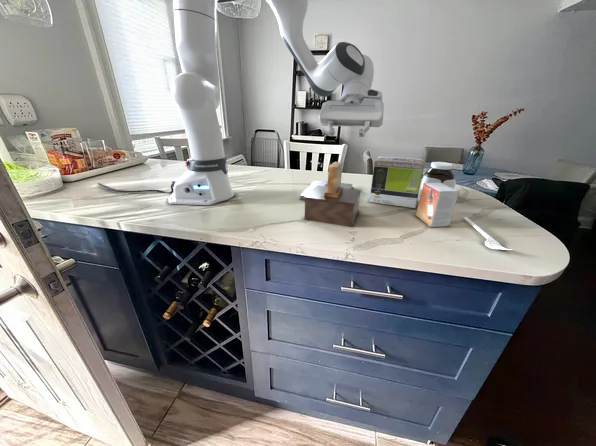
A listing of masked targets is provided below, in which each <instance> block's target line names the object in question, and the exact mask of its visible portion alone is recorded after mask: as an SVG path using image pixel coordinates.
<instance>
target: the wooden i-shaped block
mask: <svg viewBox="0 0 596 446" xmlns="http://www.w3.org/2000/svg"><path fill="white" fill-rule="evenodd" d="M343 163H344V162H343V161H334V162H332V163H331V164H330V165H329V166H328V170H327V182H328V187H327V190H326V191H325V192H324V196H326V197H334V198H338V197H339V196H340V194H341V193H342V191H343V187H341V183H342V174H343Z"/></svg>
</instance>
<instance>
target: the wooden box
mask: <svg viewBox="0 0 596 446" xmlns="http://www.w3.org/2000/svg"><path fill="white" fill-rule="evenodd" d="M327 187H328V186H319V185H317V186H316V187H315V188H313V189H312V190H311V191H310V192H309V193H308V194H307V195H306V196H305V197H304V199H305V200H304V220H308V221H313V222H321V223H326V224H333V225H339V226H345V227H353V224H354V222H355V220H356V219H357V218H356V217H357V216H358V213H359V209H360V201H361V193H362V190H361V189H353V188H352V189H345V188H343V191H342V193H341V194H340V196H339V197H338V198H334V197H326V196H324V192H325V191H326V190H327Z"/></svg>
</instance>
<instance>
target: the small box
mask: <svg viewBox="0 0 596 446" xmlns="http://www.w3.org/2000/svg"><path fill="white" fill-rule="evenodd" d="M459 194H460V190H458V189H455V188H451V187H449V186H446V185H444V184H443V183H424V184H423V188H422V187H421V191H420V196H419V199H418V200H419V201H418V203H417V207H416V208H417V209H416V213H415V217H417V218H419V219H420V220H421V221H422V222H423V223H425V224H426V225H427V226H428V227H429V228H439V227H440V228H441V227H443V228H444V227H449V226H450V224H451V220H452V217H453V214H454V210H455V207H456V204H457V200H458V198H459Z"/></svg>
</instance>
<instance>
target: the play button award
mask: <svg viewBox="0 0 596 446" xmlns="http://www.w3.org/2000/svg"><path fill="white" fill-rule="evenodd" d="M317 185H319V186H328V181H324V180H323V181H321V180H313V181H312V182H311V183H310V185H309V186H308V187H307V188H306V189H304V190H303V192H302V193H301V194H300V200H304V201H305V199H304V197H305V196H306V195H307V194H308V193H309V192H310V191H311V190H312V189H313V188H315V187H316V186H317ZM341 187H343V188H345V189H353V183H346V182H345V183H344V182H341Z"/></svg>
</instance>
